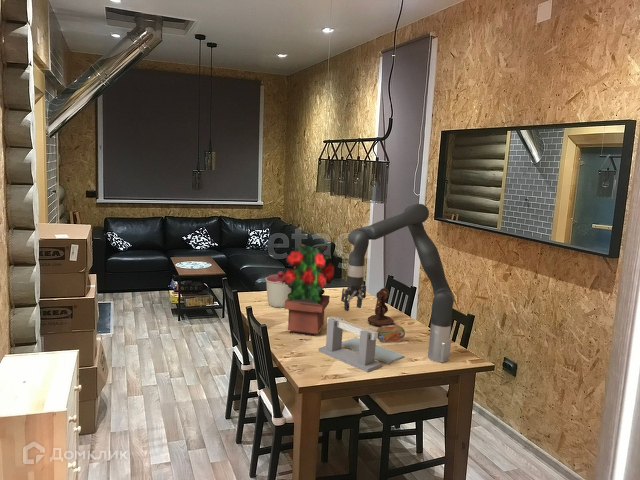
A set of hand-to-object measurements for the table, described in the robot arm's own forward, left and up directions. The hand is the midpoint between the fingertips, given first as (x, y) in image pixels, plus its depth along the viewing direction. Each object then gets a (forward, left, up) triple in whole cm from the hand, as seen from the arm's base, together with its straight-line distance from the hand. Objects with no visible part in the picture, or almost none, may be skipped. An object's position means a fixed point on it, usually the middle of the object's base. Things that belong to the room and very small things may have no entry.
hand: (352, 309), depth 235 cm
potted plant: (+39, -10, -24) cm, 47 cm away
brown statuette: (+22, -52, -24) cm, 61 cm away
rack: (0, 0, -24) cm, 24 cm away
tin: (+2, -34, -24) cm, 42 cm away
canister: (+81, -28, -24) cm, 89 cm away
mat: (0, -16, -24) cm, 29 cm away
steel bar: (0, 0, -10) cm, 10 cm away
